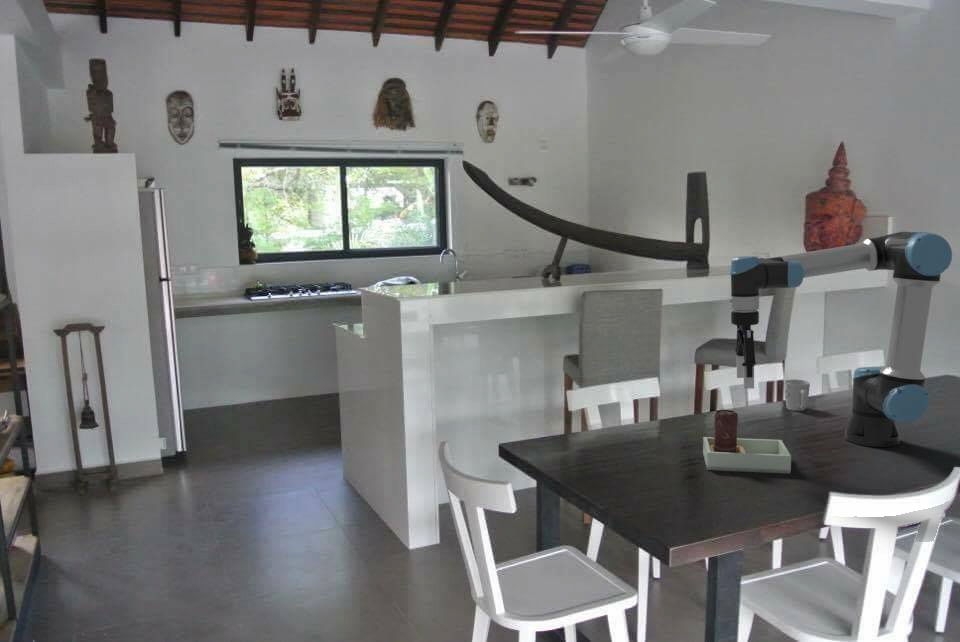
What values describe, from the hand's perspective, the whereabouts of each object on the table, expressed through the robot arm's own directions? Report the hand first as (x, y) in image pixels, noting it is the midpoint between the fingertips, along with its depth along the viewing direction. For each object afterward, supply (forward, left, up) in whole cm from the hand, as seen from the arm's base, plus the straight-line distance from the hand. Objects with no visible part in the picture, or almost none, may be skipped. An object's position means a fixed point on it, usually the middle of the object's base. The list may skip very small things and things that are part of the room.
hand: (745, 382), depth 217 cm
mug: (-26, -57, -23) cm, 66 cm away
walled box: (0, +6, -22) cm, 23 cm away
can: (+6, +6, -22) cm, 23 cm away
